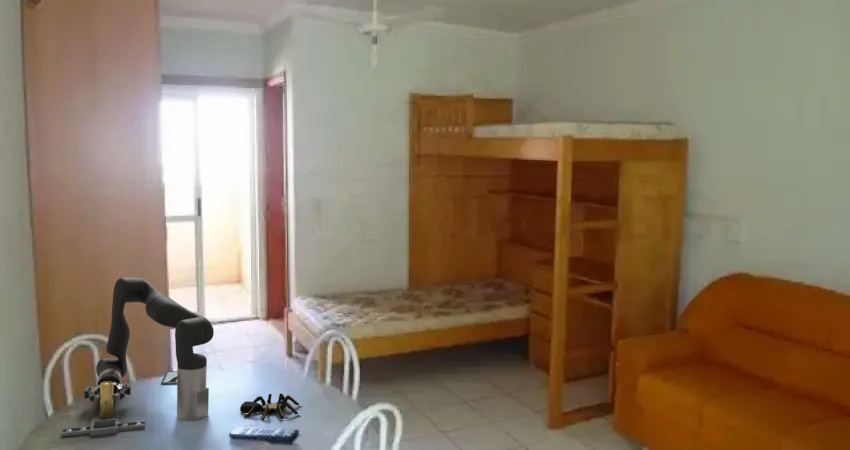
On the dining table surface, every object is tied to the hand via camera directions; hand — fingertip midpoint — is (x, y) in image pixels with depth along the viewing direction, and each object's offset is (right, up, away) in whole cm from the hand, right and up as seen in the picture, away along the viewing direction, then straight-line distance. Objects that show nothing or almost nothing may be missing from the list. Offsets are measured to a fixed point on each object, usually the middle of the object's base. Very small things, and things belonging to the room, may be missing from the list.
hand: (106, 397), depth 221 cm
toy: (+52, -8, +11) cm, 54 cm away
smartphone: (+7, -3, +39) cm, 40 cm away
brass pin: (0, -6, 0) cm, 6 cm away
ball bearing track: (+5, -7, -11) cm, 14 cm away
